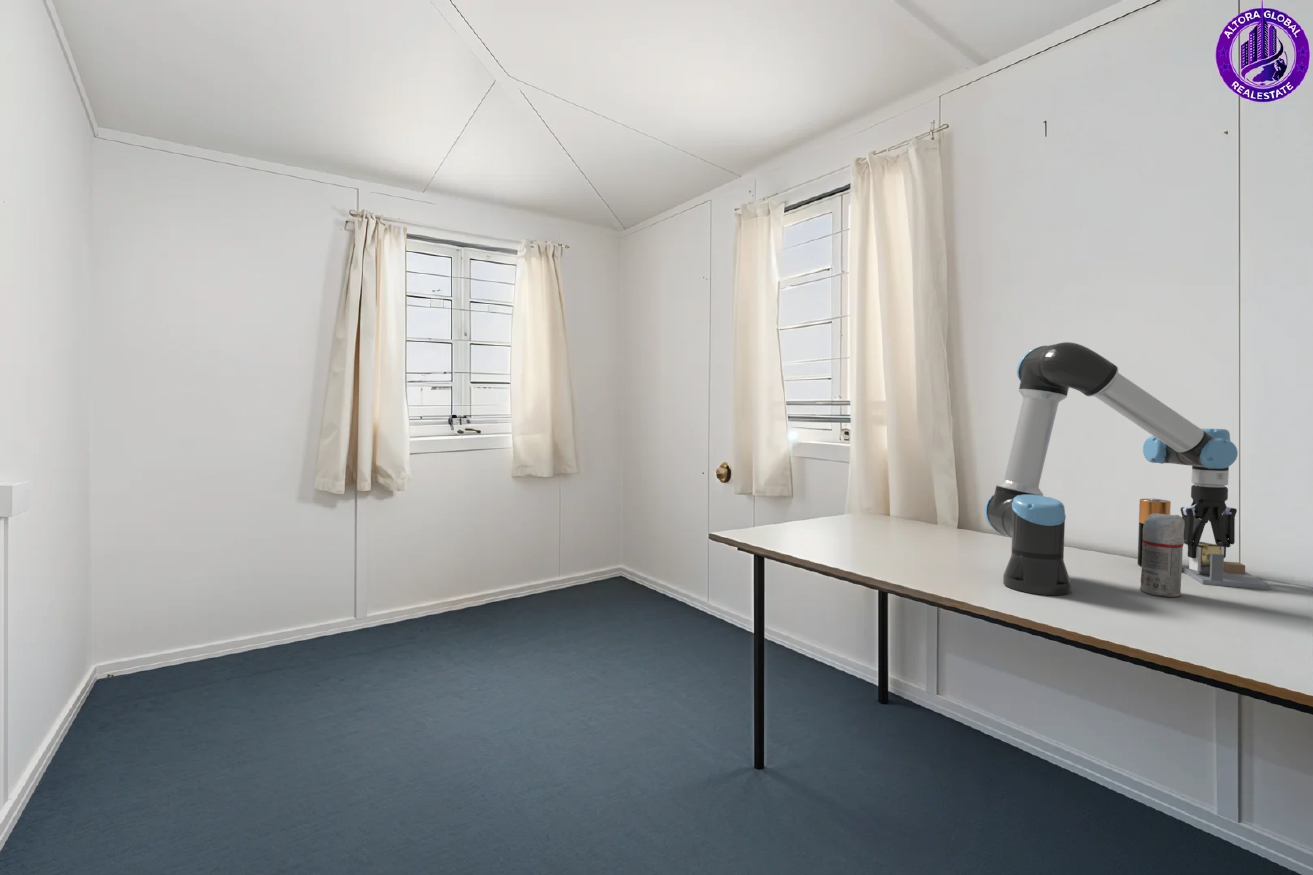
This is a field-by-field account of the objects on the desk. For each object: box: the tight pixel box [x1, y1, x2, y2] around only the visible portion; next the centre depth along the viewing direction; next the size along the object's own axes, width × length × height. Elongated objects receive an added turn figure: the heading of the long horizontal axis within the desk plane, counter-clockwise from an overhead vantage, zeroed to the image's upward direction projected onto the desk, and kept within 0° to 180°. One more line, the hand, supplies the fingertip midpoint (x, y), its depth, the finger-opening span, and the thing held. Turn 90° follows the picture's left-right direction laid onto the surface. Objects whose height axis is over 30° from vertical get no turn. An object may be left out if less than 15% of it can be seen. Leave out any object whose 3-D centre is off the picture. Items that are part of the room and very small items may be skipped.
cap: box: [1198, 541, 1224, 567], centre depth 171 cm, size 9×6×5 cm, turn 0°
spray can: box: [1139, 513, 1185, 598], centre depth 158 cm, size 8×8×20 cm
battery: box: [1137, 497, 1172, 567], centre depth 184 cm, size 7×7×20 cm
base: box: [1182, 553, 1272, 591], centre depth 171 cm, size 14×17×8 cm
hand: (1205, 569), depth 172 cm, fingers closed on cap, 5 cm apart
